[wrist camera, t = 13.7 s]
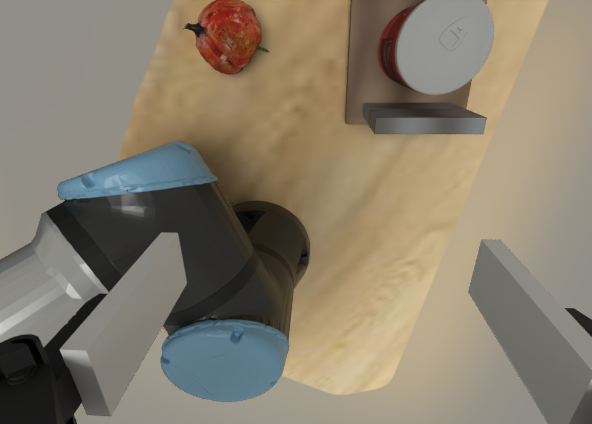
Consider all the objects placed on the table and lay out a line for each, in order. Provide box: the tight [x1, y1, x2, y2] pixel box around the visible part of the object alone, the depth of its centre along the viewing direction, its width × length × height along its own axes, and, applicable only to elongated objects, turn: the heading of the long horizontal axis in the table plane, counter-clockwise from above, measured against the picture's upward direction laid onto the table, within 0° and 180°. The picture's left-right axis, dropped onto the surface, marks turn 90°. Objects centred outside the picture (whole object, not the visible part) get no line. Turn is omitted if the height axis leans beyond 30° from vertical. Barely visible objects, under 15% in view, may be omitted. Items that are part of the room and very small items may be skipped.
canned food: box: [378, 0, 494, 95], centre depth 33 cm, size 8×8×11 cm
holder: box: [345, 0, 487, 134], centre depth 34 cm, size 14×17×12 cm
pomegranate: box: [183, 0, 269, 75], centre depth 37 cm, size 7×7×10 cm
